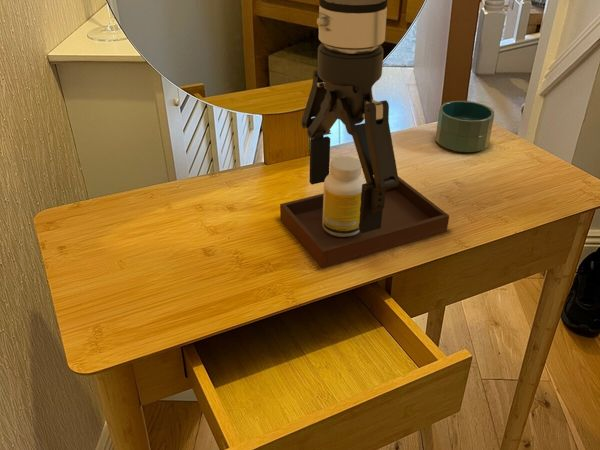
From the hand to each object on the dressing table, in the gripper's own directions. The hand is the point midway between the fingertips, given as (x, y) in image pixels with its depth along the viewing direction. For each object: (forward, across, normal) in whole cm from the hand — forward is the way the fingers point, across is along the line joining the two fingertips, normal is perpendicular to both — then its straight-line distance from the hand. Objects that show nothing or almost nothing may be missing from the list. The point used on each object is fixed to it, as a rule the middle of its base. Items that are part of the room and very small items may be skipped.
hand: (343, 204), depth 83 cm
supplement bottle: (+4, 0, 0) cm, 4 cm away
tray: (+4, 0, +3) cm, 5 cm away
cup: (+4, -15, +32) cm, 36 cm away
